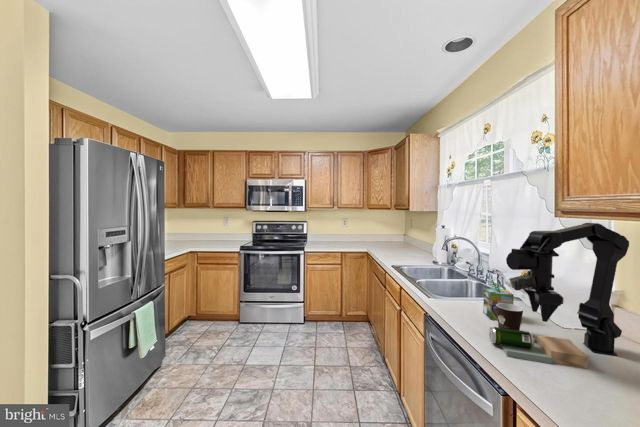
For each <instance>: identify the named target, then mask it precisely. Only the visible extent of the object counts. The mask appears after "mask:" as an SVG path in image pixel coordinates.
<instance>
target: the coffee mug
mask: <svg viewBox="0 0 640 427" xmlns="http://www.w3.org/2000/svg"><path fill="white" fill-rule="evenodd" d="M494 306H496V307H497V315H496V314H495V312H494V310H493V308H494ZM492 311H493V313H494V315H495V316H496V318H497V319H498V320H497V326H498V328H506V329H513V330H520V329H521V326H522V320H523V319H522V318H523V312H524V308H523V307H521V306H519V305H516V304H513V305H512V304H506V303H499V304H496V305H492ZM520 331H521V330H520Z"/></svg>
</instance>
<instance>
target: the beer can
mask: <svg viewBox="0 0 640 427" xmlns="http://www.w3.org/2000/svg"><path fill="white" fill-rule="evenodd" d="M488 333H489V334H488V335H489V341H490V343H493V344H496V345H497V344H498V345H500V344H502V345H508V346H515V347H521V348H528V349H531V348H533V347H534V338H535V337H534V334H533V333H531V332H530V331H525V330H513V329H506V328H499V327H497V326H492V327H489V332H488Z"/></svg>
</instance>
